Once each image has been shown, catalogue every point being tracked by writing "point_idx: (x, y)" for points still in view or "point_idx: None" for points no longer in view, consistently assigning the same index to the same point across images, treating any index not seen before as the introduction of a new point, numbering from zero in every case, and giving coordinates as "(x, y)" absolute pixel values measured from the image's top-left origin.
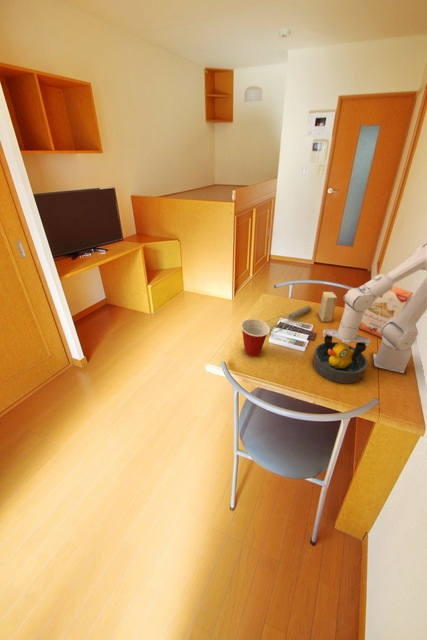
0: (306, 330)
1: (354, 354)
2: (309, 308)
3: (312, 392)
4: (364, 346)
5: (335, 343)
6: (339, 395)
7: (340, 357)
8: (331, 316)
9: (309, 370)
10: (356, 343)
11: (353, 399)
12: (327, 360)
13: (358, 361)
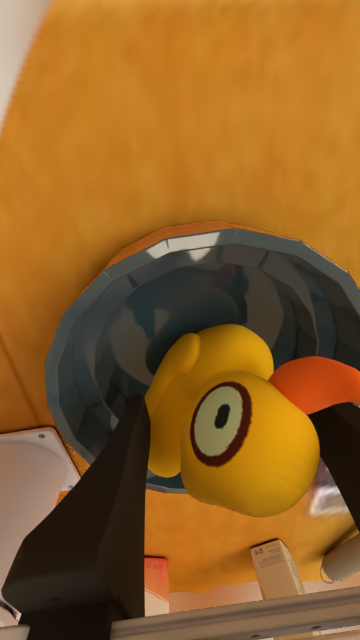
0: (334, 485)
1: (133, 445)
2: (332, 572)
3: (330, 9)
4: (32, 604)
5: None
6: (148, 94)
7: (223, 378)
8: (261, 576)
9: (337, 253)
10: (143, 563)
11: (57, 103)
12: None
13: (114, 418)
